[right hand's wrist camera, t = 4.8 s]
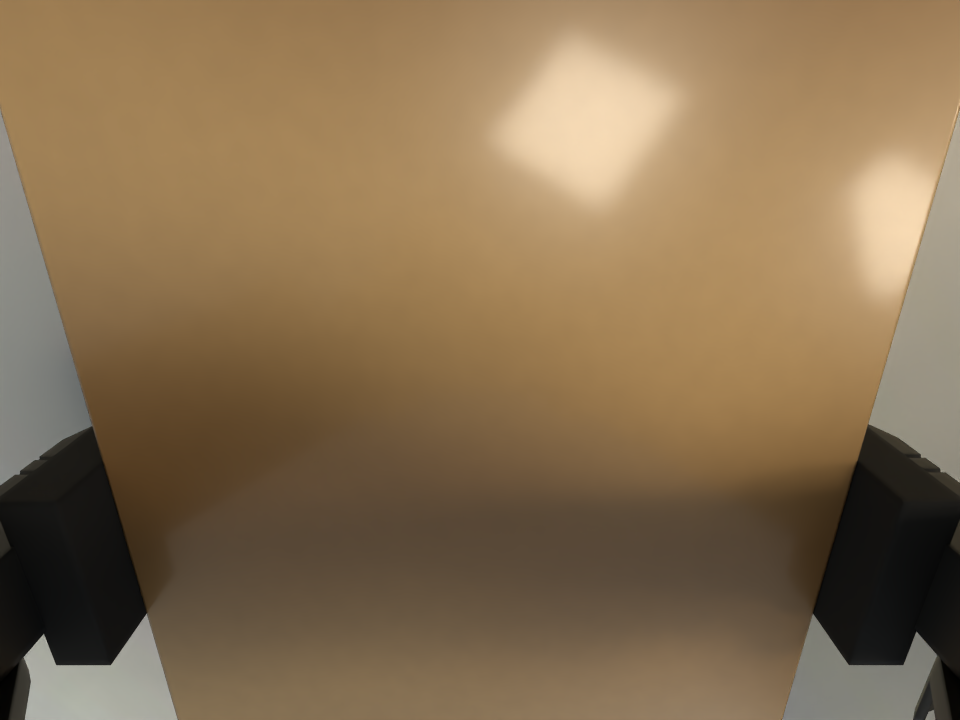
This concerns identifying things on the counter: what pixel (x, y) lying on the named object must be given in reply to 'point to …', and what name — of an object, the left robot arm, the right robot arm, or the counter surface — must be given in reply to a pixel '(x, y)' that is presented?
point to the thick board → (479, 330)
